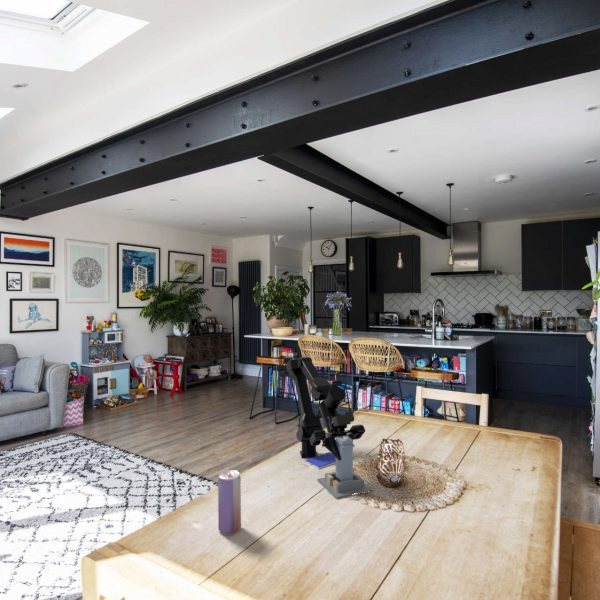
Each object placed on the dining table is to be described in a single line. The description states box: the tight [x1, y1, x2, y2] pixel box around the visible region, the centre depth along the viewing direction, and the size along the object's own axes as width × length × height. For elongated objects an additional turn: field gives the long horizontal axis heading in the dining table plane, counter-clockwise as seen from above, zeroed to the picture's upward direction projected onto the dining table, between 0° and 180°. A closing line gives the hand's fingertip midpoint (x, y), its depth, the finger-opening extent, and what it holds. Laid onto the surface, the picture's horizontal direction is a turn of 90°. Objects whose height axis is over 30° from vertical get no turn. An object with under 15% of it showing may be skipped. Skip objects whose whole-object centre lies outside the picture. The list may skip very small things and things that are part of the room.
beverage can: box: [217, 469, 242, 536], centre depth 116 cm, size 6×6×15 cm
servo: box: [335, 435, 355, 481], centre depth 142 cm, size 7×4×14 cm, turn 22°
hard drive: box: [303, 451, 336, 470], centre depth 163 cm, size 2×8×12 cm
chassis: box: [316, 471, 374, 500], centre depth 142 cm, size 14×13×3 cm
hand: (346, 459), depth 141 cm, fingers closed on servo, 4 cm apart
